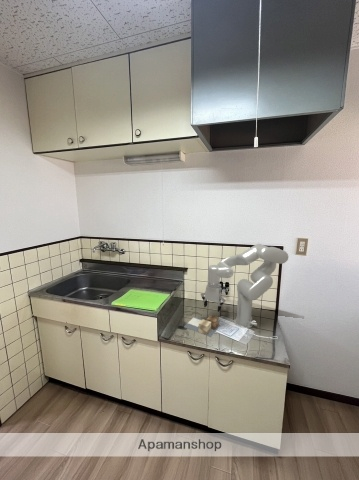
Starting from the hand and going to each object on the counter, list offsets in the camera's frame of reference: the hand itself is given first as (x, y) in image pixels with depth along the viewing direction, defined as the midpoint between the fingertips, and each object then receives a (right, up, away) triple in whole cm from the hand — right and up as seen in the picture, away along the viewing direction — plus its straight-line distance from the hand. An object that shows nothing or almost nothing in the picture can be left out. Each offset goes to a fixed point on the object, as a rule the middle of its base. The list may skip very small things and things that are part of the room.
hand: (212, 308), depth 145 cm
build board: (-6, -13, +3) cm, 15 cm away
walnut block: (+1, -13, +3) cm, 13 cm away
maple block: (-5, -14, -2) cm, 15 cm away
